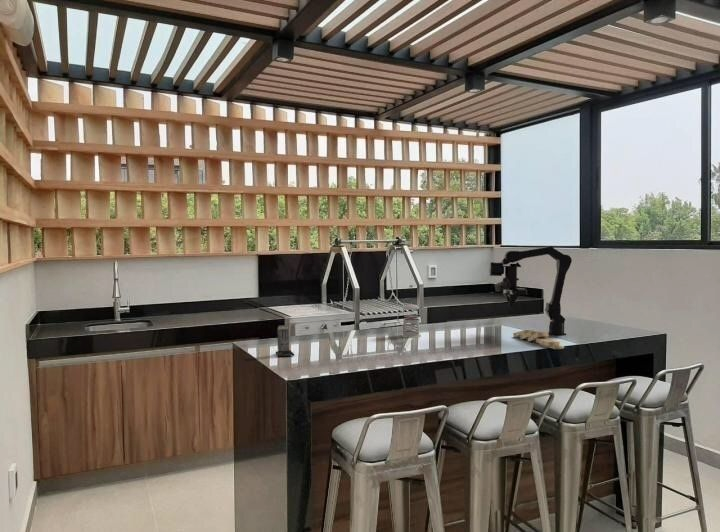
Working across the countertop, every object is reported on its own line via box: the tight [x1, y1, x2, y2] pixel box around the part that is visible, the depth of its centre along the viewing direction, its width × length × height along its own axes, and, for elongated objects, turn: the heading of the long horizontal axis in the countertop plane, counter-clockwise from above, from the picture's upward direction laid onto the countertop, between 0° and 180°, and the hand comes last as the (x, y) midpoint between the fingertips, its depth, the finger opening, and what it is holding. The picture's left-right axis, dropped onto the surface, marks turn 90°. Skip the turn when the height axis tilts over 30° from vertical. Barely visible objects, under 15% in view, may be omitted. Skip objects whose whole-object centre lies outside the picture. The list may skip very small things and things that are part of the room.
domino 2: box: [519, 330, 542, 340], centre depth 255 cm, size 5×2×10 cm
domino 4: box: [535, 337, 560, 346], centre depth 242 cm, size 5×2×10 cm
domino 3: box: [526, 331, 550, 343], centre depth 249 cm, size 5×2×10 cm
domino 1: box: [512, 329, 535, 338], centre depth 261 cm, size 5×2×10 cm
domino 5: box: [538, 343, 565, 350], centre depth 242 cm, size 5×2×10 cm
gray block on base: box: [274, 324, 295, 357], centre depth 225 cm, size 9×8×12 cm
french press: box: [397, 284, 422, 339], centre depth 268 cm, size 10×12×25 cm
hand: (510, 307), depth 274 cm, fingers closed
